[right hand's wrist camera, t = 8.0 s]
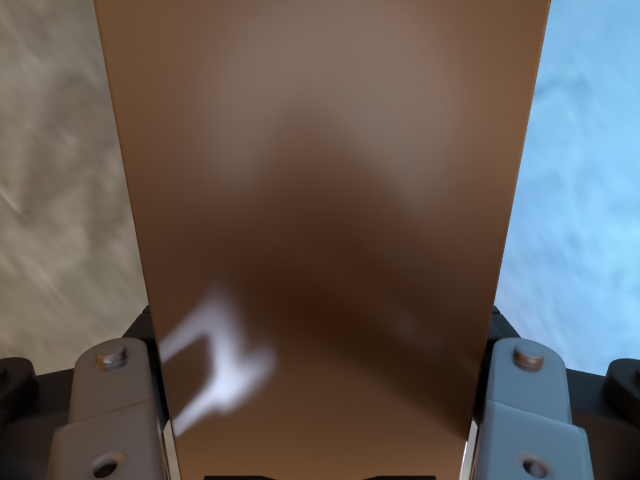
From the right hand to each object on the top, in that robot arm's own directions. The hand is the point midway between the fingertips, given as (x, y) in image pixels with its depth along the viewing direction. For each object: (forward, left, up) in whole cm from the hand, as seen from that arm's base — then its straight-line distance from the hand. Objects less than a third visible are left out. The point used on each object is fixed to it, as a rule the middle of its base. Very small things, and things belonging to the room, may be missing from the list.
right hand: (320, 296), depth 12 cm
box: (+4, +7, -9) cm, 12 cm away
